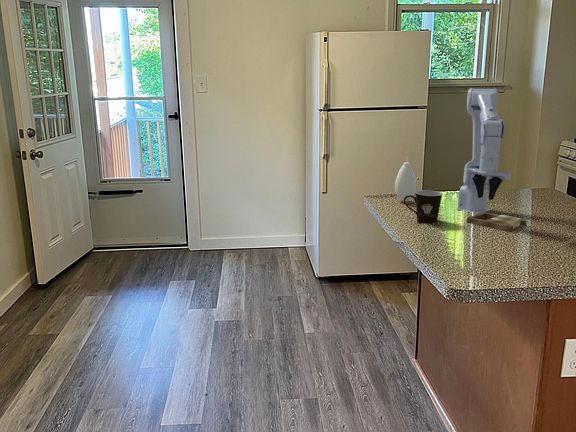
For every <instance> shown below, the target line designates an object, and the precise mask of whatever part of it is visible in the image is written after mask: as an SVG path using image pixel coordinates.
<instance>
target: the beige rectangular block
mask: <svg viewBox="0 0 576 432" xmlns="http://www.w3.org/2000/svg"><path fill="white" fill-rule="evenodd" d="M499 215H500V216H497V217H494V218H491V220H490V222H495V223H500V224H504V225H509V226H513V228H516V227H518V226H520V223H521V220H522V218H520V217H517V216H510V215H506V214H505V215H504V214H499Z"/></svg>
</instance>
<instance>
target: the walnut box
mask: <svg viewBox="0 0 576 432" xmlns="http://www.w3.org/2000/svg"><path fill="white" fill-rule="evenodd" d="M500 215H501V214H495V213H490V212H487V211H486V212H483V213H477V214H474V215H472V216H469V217H467V219H466V223H467V224H471V225H475V226H476V225H477V226H481V227H484V228H489V229H490V228H491V229H496V230H500V231H503V232H509V233H511V232H514V231H516V230H519V229H521V228H524V227H526V226H527V222H528V221H527V220H526V219H521V223H520V226H518V227H516V228H513V226H509V225H504V224H500V223H495V222H490V220H491V218H494V217H497V216H500Z"/></svg>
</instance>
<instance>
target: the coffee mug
mask: <svg viewBox="0 0 576 432" xmlns="http://www.w3.org/2000/svg"><path fill="white" fill-rule="evenodd" d="M408 197H412V199H413V200H414V202H415V205H416V206H415V207H416V208H415V209H416V210H415V209H413V208H412V207H411V206H409V205H408V203H407V202H405V200H406V198H408ZM442 197H443V193H442V192H441V191H437V190H428V189H427V190H425V189H424V190H421V189H420V190H417V191H415V195H414V196H411V195H408V196H406V197H405V198H404V202H403V204H404V205H405V206H406V208H407V209H409V210H410V211H411V212H413V213H415V215H416V223H418V224H434V223H437V222H438V217H439V212H440V207H441V202H442Z"/></svg>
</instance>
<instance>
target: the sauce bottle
mask: <svg viewBox="0 0 576 432" xmlns="http://www.w3.org/2000/svg"><path fill="white" fill-rule="evenodd" d="M408 157H409V156H408V155H407V156H406V161H405V162H403V163H402V164H403V165H402V166H401V167H400V168H399V170H398V173H397V176H396V179H395V183H394V186H395V187H394V188H395V189H394V190H395V194H396V197H397V199H399V200H400V201H401V202H403V203H404V198H405V197H406V196H408V195H411V196H414V197H415V195H416V189H417V182H416V181H417V179H416V175H415V171H414V169H413V167H412V165H411V162H408V159H409V158H408ZM412 199H413V198H412V197H408V198H406V200H405V202H406V203H408V202H410V200H412Z"/></svg>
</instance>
